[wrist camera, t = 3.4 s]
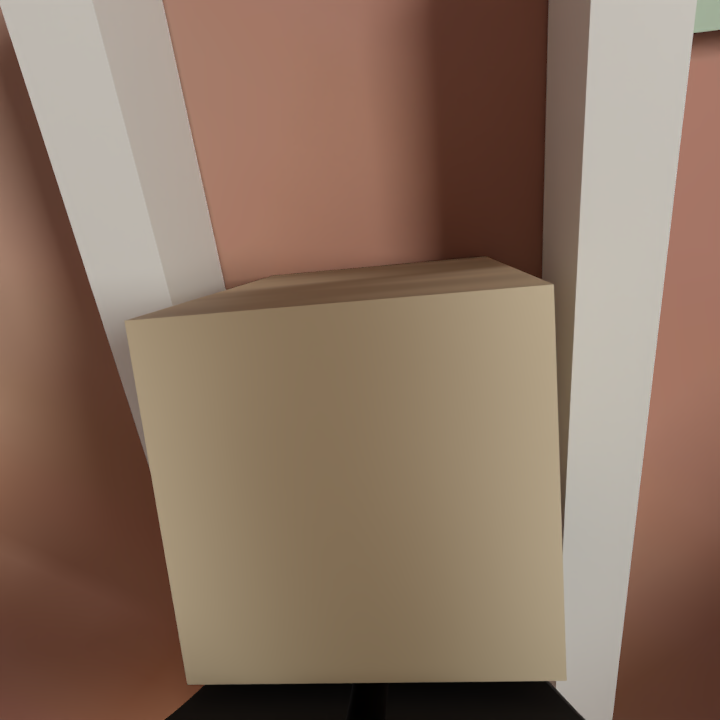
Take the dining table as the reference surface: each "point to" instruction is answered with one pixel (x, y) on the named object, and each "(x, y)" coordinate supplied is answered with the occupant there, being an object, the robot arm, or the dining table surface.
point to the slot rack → (559, 256)
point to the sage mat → (707, 16)
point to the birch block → (360, 475)
